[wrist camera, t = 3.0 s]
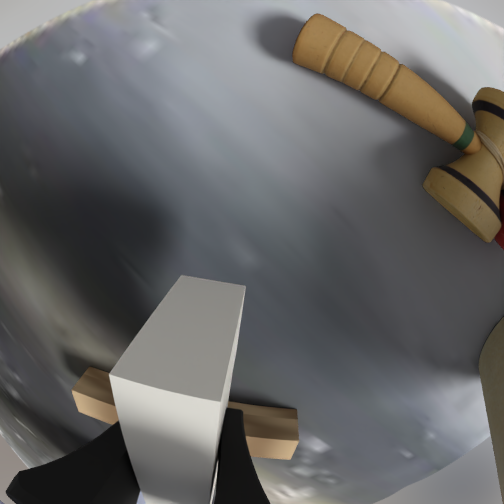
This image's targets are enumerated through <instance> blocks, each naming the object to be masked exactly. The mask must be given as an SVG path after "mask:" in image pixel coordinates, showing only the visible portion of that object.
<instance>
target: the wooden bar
mask: <svg viewBox="0 0 504 504" xmlns="http://www.w3.org/2000/svg"><path fill="white" fill-rule="evenodd" d="M72 393H73V396H74V399H75V402H76V404H77V407H78V410H79V412H81V413H84V414H86V415H89V416H91V417H94V418H96V419H99V420H102V421H104V422H107V423H110V424H115V423H116V422H117V421H118V420H119V418H118V414H117V410H116V406H115V401H114V397H113V392H112V387H111V382H110V377H109V373H108V372H105V371H102V370H99V369H96V368H93V367H90V366H89V368H88V369H87V370H86V371H85V373H84V374H83V375H82V377H81V378H80V379H79V381H78V382H77V383H76V385H75V386H74V387H73V388H72ZM227 407H228V408H234V409H241V410H242V411H243V421H244V430H245V435H246V440H247V445H248V448H249V452H250V456H253V457H263V458H274V459H289V460H290V459H291V457H292V455H293V453H294V451H295V449H296V446H297V444H298V442H299V434H298V418H297V410H296V409H285V408H274V407H265V406H257V405H249V404H242V403H236V402H229V401H228V406H227Z"/></svg>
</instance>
